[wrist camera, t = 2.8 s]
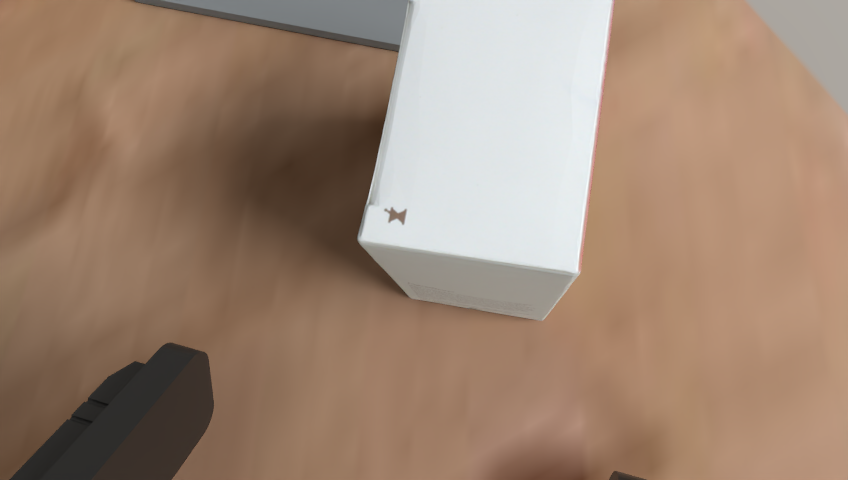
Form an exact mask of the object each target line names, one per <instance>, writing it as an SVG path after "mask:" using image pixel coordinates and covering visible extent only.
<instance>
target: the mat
mask: <svg viewBox="0 0 848 480" xmlns="http://www.w3.org/2000/svg"><path fill="white" fill-rule="evenodd" d="M135 1H136V2H140V3H145V4H150V5H156V6H161V7H166V8H171V9H177V10H182V11H187V12H192V13H198V14H203V15H208V16H214V17H219V18H224V19H229V20H235V21H240V22H245V23H251V24H256V25H261V26H266V27H272V28H277V29H282V30H288V31H293V32H298V33H303V34H309V35H314V36H319V37H325V38H330V39H335V40H340V41H346V42H351V43H356V44H361V45H367V46H372V47H377V48H383V49H388V50H393V51H398V52H399V49H400V44H401V39H402V34H403V29H404V23H405V17H406V12H407V6H408V0H135Z"/></svg>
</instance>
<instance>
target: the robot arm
mask: <svg viewBox="0 0 848 480" xmlns="http://www.w3.org/2000/svg"><path fill="white" fill-rule="evenodd" d="M213 408H214V400H213V392H212V384H211V375H210V367H209V359H208V356H207V354H206V353H205V352H202V351H199V350H195V349H192V348H188V347H185V346H181V345H178V344H174V343H167V344H165V345H163V346H162V347H161V348H160V349H159V350H158V351H157V352H156V353H155V354H154V355H153V356H152V358H151V359H150V360H149V361H148V362H147V363H146V364H143V363H139V362H136V361H135V362H133V363H131V364H130V365H128V366H126V367H124V368H123V369H121V370H119V371H118V372H116V373H114V374H112V375H111V376H109V377H108V378H107V379H106V380H105V381H104V382H103V383H102V384H101V385H100V386H99V387H98V388H97V389H96V390H95V391H94V392H93V393H92V394H91V395H90V396H89V397H88V401H87V402H84V403H83V404H82V405H81V406H80V407H79V408H78V409H77V410H76V411H75V412H74V413H73V414H72V417H71V419H70V420H68V419H67V420H66V421H65V422H64V423H63V424H62V426H61V427H60V428H59V429H58V430H57V431H56V432H55V433H54V434H53V435H52V436H51V437H50V438H49V439H48V440H47V441H46V442H45V443H44V444H43V445H42V446H41V447H40V448H39V449H38V451H37V452H36V453H35V454H34V455H33V456H32V457H31V458H30V459H29V460H28V461H27V462H26V463H25V464H24V465H23V466H22V467H21V468H20V469H19V470H18V471H17V472H16V473H15V474H14V476H13V477H12V478H11V479H10V480H172V478H173V477H174V475H175V474H176V473H177V471H178V470H179V468H180V467H181V466H182V464H183V463H184V461H185V460H186V458H187V457H188V456H189V454H190V453H191V451H192V450H193V448H194V447H195V446H196V444H197V443H198V441H199V440H200V439H201V437H202V436H203V434H204V433H205V431H206V429H207V427H208V425H209V423H210V420H211V417H212V413H213ZM609 480H646V479H642V478H639V477H635V476H632V475H628V474H625V473H621V472H618V471H614V472H613V473H612V475H611V477H610V479H609Z"/></svg>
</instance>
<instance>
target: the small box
mask: <svg viewBox="0 0 848 480" xmlns="http://www.w3.org/2000/svg"><path fill="white" fill-rule="evenodd" d="M614 3H615V0H408V6H407V12H406V17H405V23H404V29H403V34H402V39H401V44H400V49H399V54H398V59H397V64H396V69H395V73H394V79H393V84H392V89H391V94H390V99H389V104H388V109H387V113H386V118H385V123H384V128H383V132H382V137H381V142H380V147H379V151H378V156H377V161H376V165H375V170H374V174H373V178H372V183H371V187H370V191H369V195H368V199H367V203H366V206H365V209H364V213H363V217H362V221H361V225H360V229H359V233H358V237H357V240H358V242H359V244H360V245H361V246H362V247H363V248H364V249H365V250H366V251H367V252H368V253H369V255H370V256H371V257H372V258H373V259H374V260H375V261H376V262H377V263H378V264H379V265H380V266H381V267H382V268H383V269H384V270H385V271H386V272H387V274H388V275H389V276H390V277H391V278H392V279H393V280H394V281H395V282H396V283H397V284H398V285H399V286H400V287H401V288H402V289H403V291H404V292H405V293H406V294H407V295H408V296H409V297H410V298H411V299H416V300H423V301H429V302H435V303H441V304H446V305H452V306H458V307H463V308H469V309H475V310H481V311H487V312H493V313H499V314H504V315H510V316H516V317H522V318H528V319H534V320H541V321H542V320H544V319H545V318H546V316H547V315H548V314H549V313H550V311H551V310H552V309H553V307H554V306H555V305H556V304H557V302H558V301H559V300H560V299H561V297H562V296H563V294H564V293H565V292H566V291H567V290H568V288H569V287H570V285H571V284H572V283H573V282H574V280H575V279H576V278H577V277H578V275H579V274H580V273H581V265H582V257H583V249H584V241H585V233H586V224H587V217H588V209H589V201H590V194H591V186H592V179H593V171H594V163H595V155H596V147H597V138H598V130H599V123H600V115H601V107H602V99H603V91H604V83H605V74H606V66H607V58H608V50H609V43H610V36H611V27H612V19H613V11H614Z"/></svg>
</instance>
